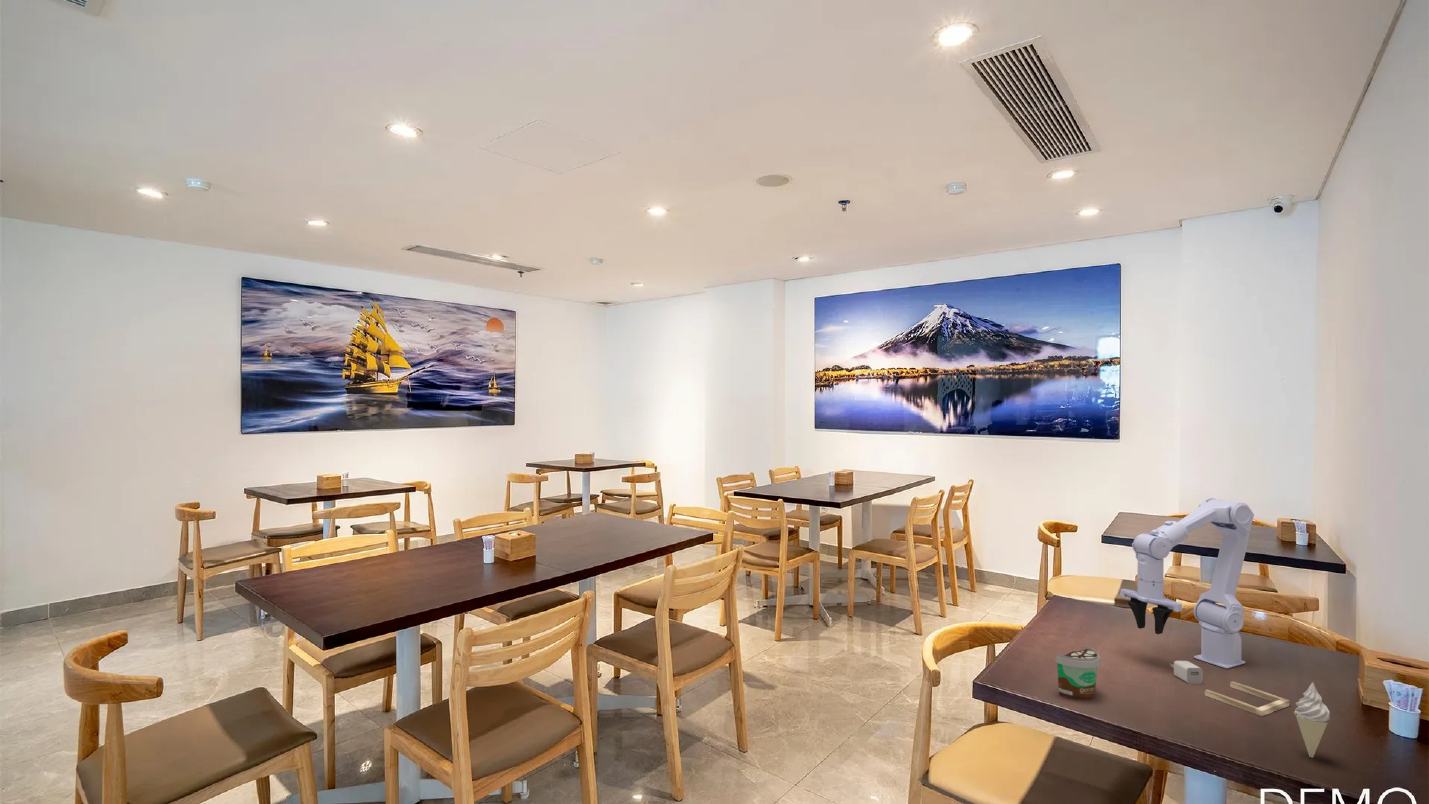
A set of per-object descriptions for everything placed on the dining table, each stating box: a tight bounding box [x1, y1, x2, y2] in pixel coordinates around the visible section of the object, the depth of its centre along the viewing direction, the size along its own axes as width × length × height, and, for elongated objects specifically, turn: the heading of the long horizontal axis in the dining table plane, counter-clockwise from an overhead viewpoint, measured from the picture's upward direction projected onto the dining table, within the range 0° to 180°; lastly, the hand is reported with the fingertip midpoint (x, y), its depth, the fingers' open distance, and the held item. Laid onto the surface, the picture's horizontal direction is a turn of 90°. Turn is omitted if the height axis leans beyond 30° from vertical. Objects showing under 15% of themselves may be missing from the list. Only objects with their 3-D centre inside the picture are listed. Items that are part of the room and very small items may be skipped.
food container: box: [1055, 645, 1102, 701], centre depth 149 cm, size 12×6×10 cm, turn 117°
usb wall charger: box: [1169, 660, 1204, 685], centre depth 160 cm, size 4×7×4 cm, turn 0°
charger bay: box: [1204, 681, 1291, 717], centre depth 147 cm, size 12×11×1 cm
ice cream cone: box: [1293, 681, 1331, 759], centre depth 123 cm, size 5×5×15 cm
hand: (1149, 630), depth 167 cm, fingers open, 4 cm apart
